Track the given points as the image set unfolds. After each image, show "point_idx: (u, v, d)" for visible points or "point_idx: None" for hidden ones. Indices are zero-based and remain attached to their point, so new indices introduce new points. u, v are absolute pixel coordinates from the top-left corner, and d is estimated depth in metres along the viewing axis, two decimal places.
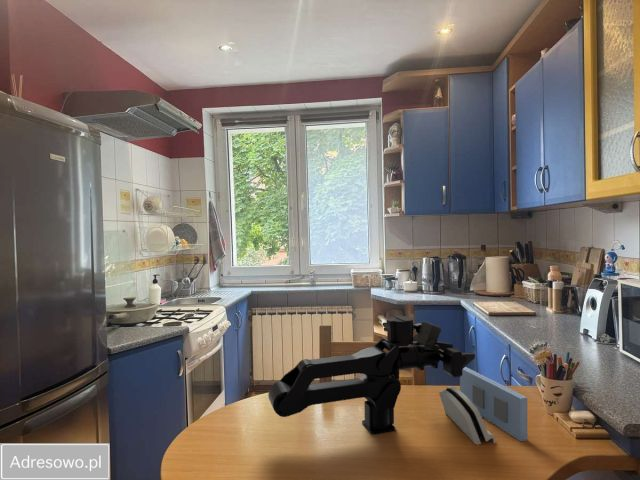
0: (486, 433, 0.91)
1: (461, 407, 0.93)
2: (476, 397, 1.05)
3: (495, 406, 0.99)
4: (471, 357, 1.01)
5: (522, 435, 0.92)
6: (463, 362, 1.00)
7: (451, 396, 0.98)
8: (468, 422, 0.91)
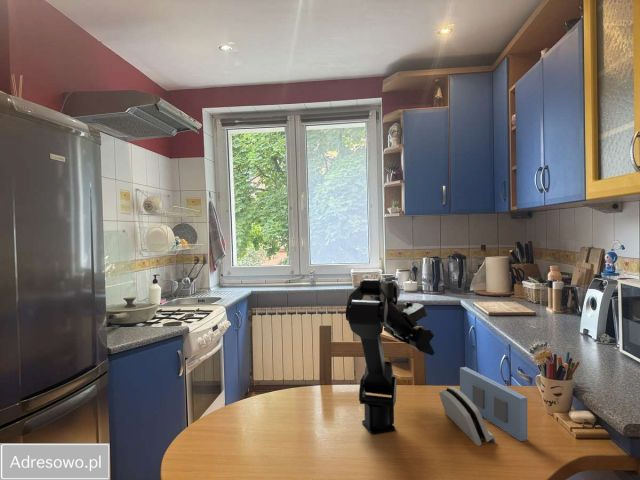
0: (487, 433, 0.91)
1: (462, 407, 0.93)
2: (476, 397, 1.05)
3: (495, 406, 0.99)
4: (431, 351, 1.12)
5: (522, 435, 0.92)
6: (424, 348, 1.11)
7: (451, 396, 0.98)
8: (469, 422, 0.91)
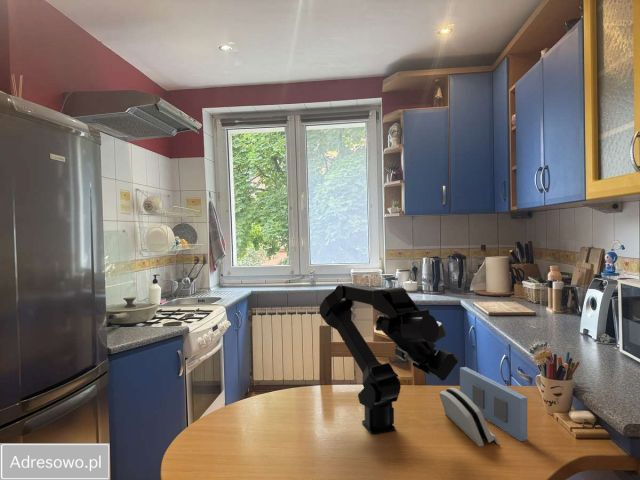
0: (489, 434, 0.90)
1: (463, 408, 0.93)
2: (476, 397, 1.05)
3: (495, 406, 0.99)
4: None
5: (522, 435, 0.92)
6: None
7: (452, 397, 0.97)
8: (471, 423, 0.90)
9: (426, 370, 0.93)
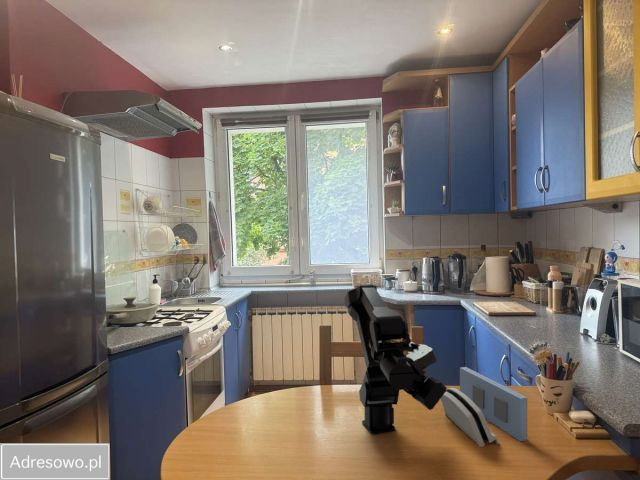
0: (490, 434, 0.90)
1: (464, 409, 0.93)
2: (476, 397, 1.05)
3: (495, 406, 0.99)
4: None
5: (522, 435, 0.92)
6: None
7: (453, 398, 0.97)
8: (472, 424, 0.90)
9: (415, 396, 0.92)
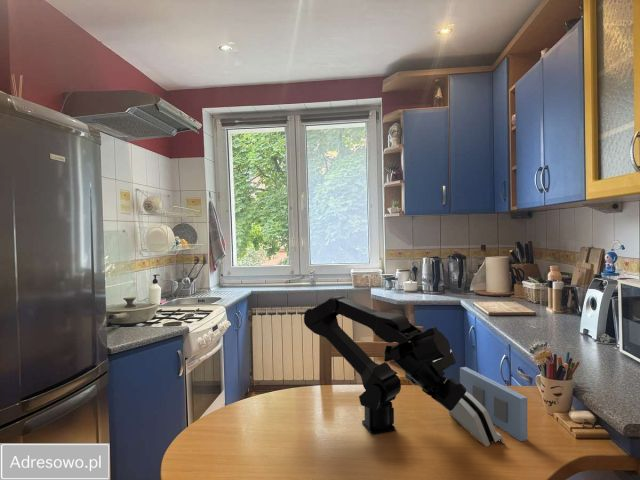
0: (495, 434, 0.90)
1: (469, 408, 0.93)
2: (476, 397, 1.05)
3: (495, 406, 0.99)
4: None
5: (522, 435, 0.92)
6: None
7: None
8: (477, 423, 0.90)
9: (435, 397, 0.94)
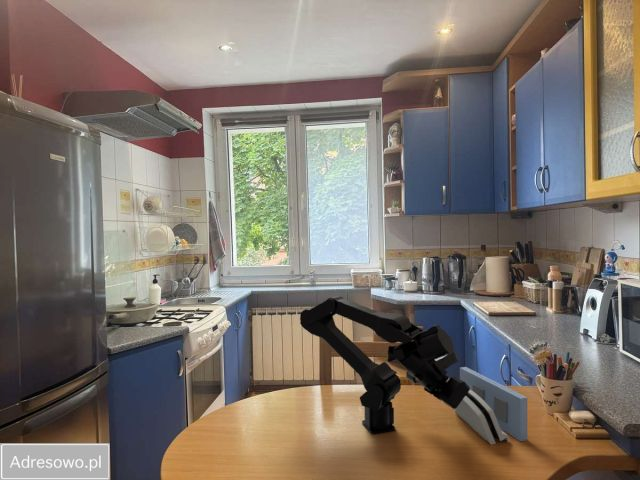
0: (500, 433, 0.91)
1: (475, 407, 0.93)
2: None
3: (495, 406, 0.99)
4: None
5: (522, 435, 0.92)
6: None
7: None
8: (483, 422, 0.91)
9: (437, 396, 0.94)
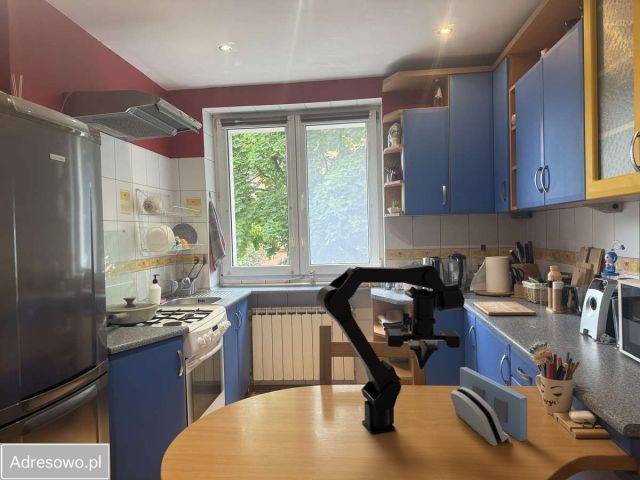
0: (502, 433, 0.91)
1: (476, 408, 0.93)
2: None
3: (495, 406, 0.99)
4: None
5: (522, 435, 0.92)
6: None
7: (465, 397, 0.97)
8: (484, 423, 0.90)
9: (432, 347, 1.02)
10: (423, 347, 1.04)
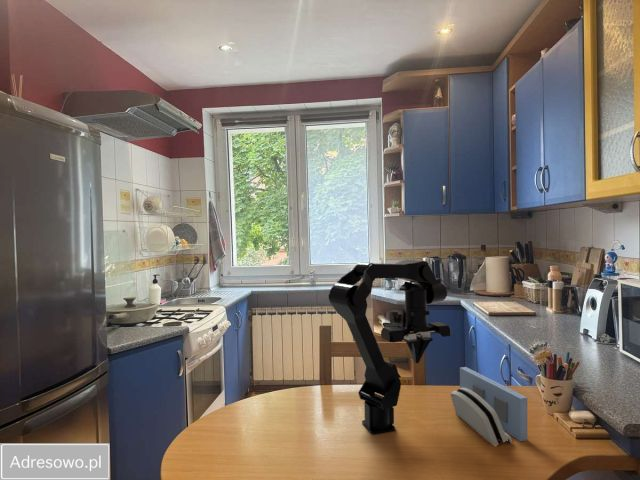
0: (503, 434, 0.90)
1: (477, 408, 0.93)
2: None
3: (495, 406, 0.99)
4: None
5: (522, 435, 0.92)
6: None
7: (465, 397, 0.97)
8: (486, 423, 0.90)
9: (427, 339, 1.06)
10: None
